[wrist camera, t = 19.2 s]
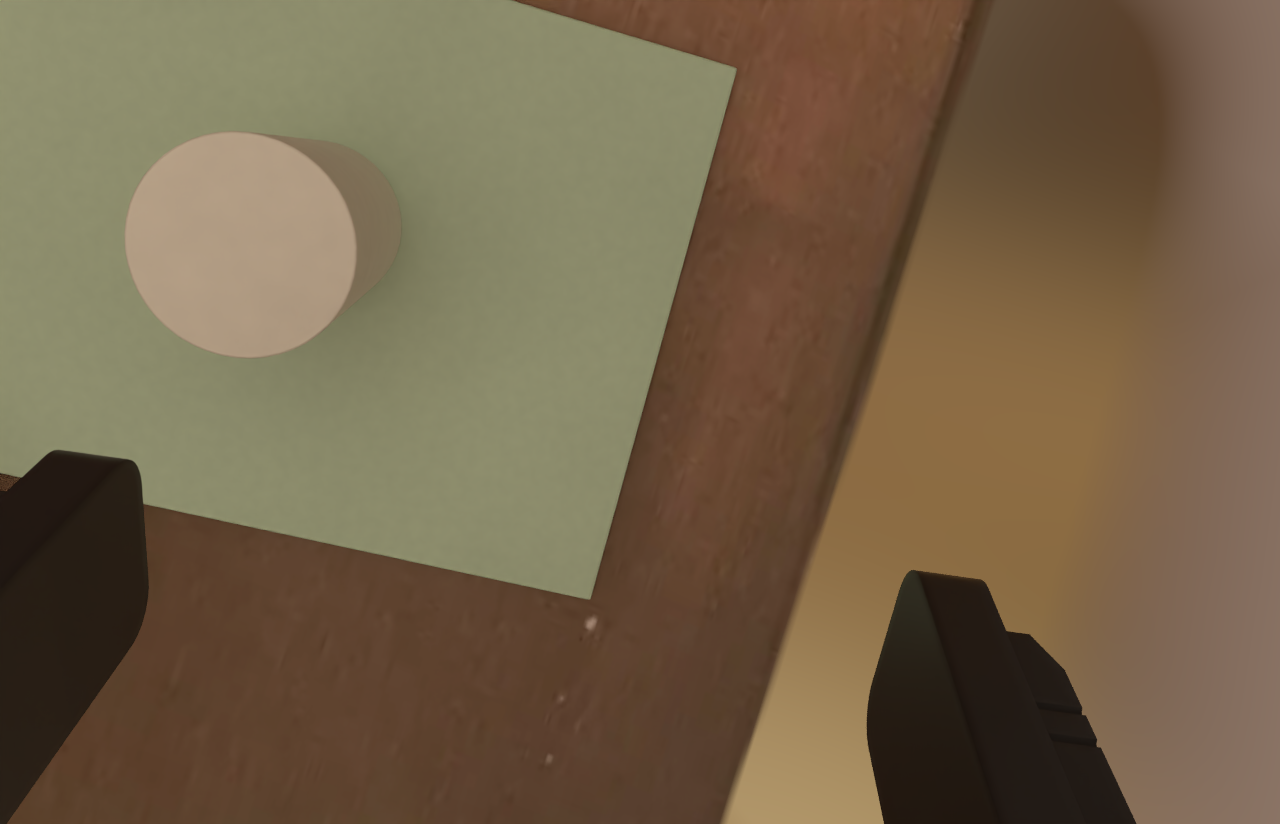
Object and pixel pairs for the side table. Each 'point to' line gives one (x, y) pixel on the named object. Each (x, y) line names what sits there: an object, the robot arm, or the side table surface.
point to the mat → (399, 303)
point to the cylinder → (258, 239)
